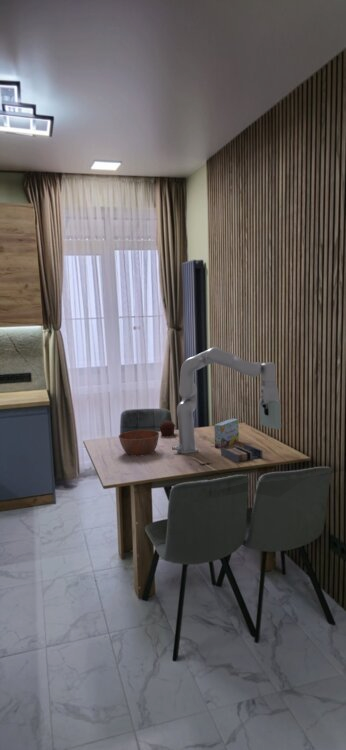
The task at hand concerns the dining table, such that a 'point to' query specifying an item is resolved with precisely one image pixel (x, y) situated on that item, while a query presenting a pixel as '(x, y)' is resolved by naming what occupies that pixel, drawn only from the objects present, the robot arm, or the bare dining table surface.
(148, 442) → the bowl
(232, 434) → the snack box
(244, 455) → the upper offcut
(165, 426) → the muffin
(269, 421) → the tall sheet
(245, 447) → the offcut rack
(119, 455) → the dining table surface
